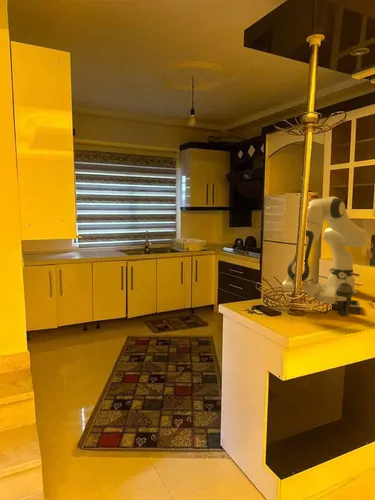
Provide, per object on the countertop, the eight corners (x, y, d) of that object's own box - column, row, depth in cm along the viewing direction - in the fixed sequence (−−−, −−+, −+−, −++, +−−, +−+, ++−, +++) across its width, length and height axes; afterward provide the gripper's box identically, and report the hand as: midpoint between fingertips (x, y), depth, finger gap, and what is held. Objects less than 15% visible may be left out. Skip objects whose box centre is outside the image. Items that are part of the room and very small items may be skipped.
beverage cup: (333, 315, 167) (337, 274, 165) (335, 311, 174) (338, 271, 171) (350, 318, 164) (354, 276, 161) (351, 314, 170) (355, 273, 168)
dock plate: (330, 303, 189) (330, 297, 188) (359, 306, 183) (359, 300, 183) (329, 310, 176) (330, 304, 175) (360, 314, 170) (361, 307, 170)
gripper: (314, 291, 163) (347, 295, 157) (317, 282, 181) (346, 285, 176) (313, 305, 164) (346, 309, 158) (316, 294, 182) (345, 298, 177)
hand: (346, 296), depth 167 cm, fingers closed on beverage cup, 7 cm apart
